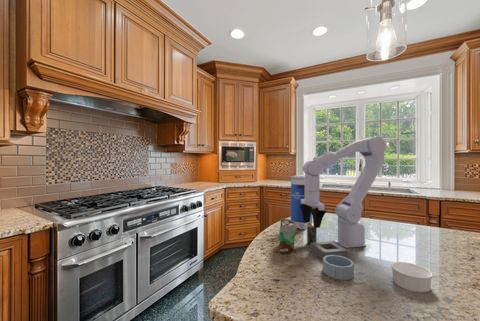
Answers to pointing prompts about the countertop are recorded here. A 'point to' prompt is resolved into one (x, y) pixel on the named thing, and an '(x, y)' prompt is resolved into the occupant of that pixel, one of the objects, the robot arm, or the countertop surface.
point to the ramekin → (412, 276)
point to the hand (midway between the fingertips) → (311, 224)
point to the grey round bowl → (338, 267)
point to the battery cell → (311, 233)
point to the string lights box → (298, 200)
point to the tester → (327, 249)
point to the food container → (287, 236)
